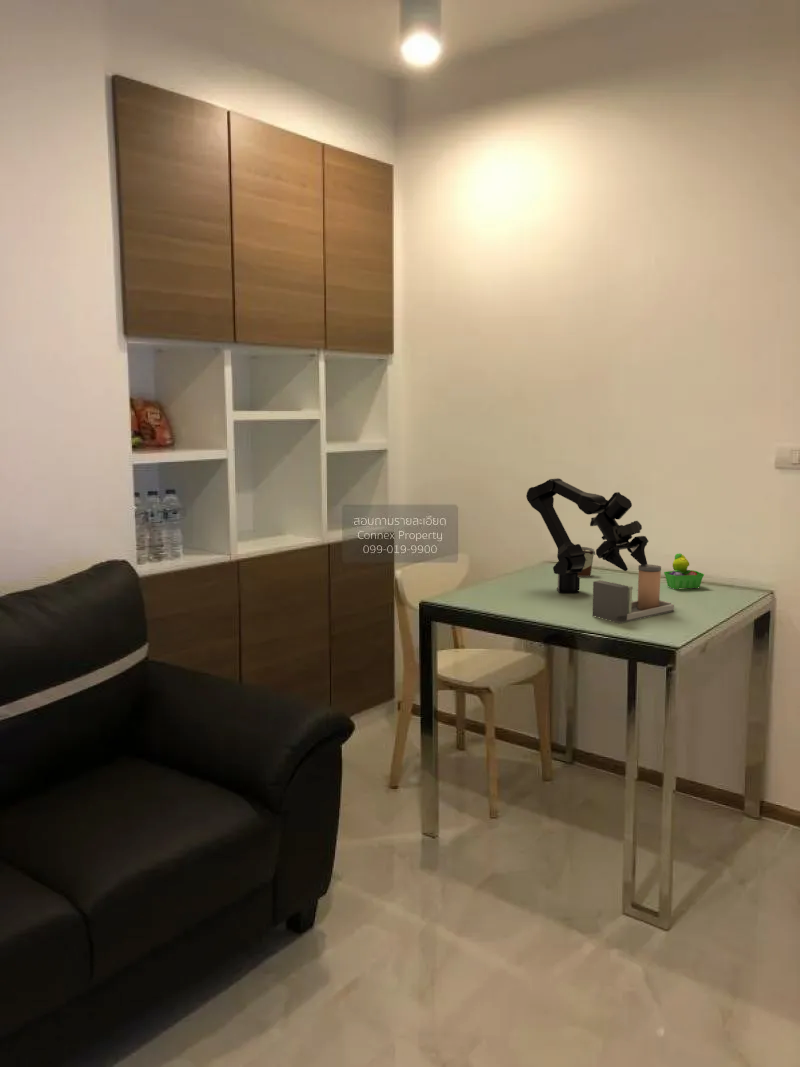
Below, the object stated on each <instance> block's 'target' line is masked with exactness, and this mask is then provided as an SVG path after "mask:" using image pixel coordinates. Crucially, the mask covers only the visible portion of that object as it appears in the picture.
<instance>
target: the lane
mask: <svg viewBox="0 0 800 1067" xmlns="http://www.w3.org/2000/svg"><path fill="white" fill-rule="evenodd" d="M592 583H593V585H592V586H593V587H592V613H591V614H592V615H591V616H592V617H593V616H596V617H595V618H597V617H600V618H599V619H601V618H603V619H602V620H605V619H607V620H606V621H609V620H611V621H610V622H613V621H614V623H616V622H618V624H622V622H624V623H627V621H628V622H632V621H631V620H633V621H636V619H637V620H641V619H645V618H644V617H646V618H650V617H654V615H655V616H659V615H663V613H664V614H668V613H671V612H674V610H675V604H672V602H669V601H665V600H661V599H660V601H659V607H656V608H651V609H647V610H639V609H638V608H637V602H638V599H636V600H632V607H631V613H628V614H627V602H628V586H629V585H627V586H625V584H622V585H620V584H621V583H617V584H615V583H616V582H613V583H612V582H611V581H605V580H601V579H600V580H596V581H595V580H594V581H593V582H592ZM649 616H650V617H649ZM640 618H641V619H640Z"/></svg>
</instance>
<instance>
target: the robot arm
mask: <svg viewBox="0 0 800 1067" xmlns="http://www.w3.org/2000/svg"><path fill="white" fill-rule="evenodd" d="M557 494H558V495H559V496H561V497H562V498H565V499H567V500H569V501H570V502H572V503H574V504H575V505H577V508H578V509H579V510H580V511H581V512H583V513H584V514H586V515H588V516H589V515H595V517H591V518H590V519H591V520H590V522H589V526H590V527H597V528H598V530H600V532H601V534H602V536H601V539H602V543H601V544H599V546H598V547H596V550H595V556H597V558H598V559H602V560H603V561H606V562H609V563H610V564H612V565H614V566H616V567H618V568H619V569H621V570H622V571H624V572H627V571H628V570H629V568H628V566H627V565H626V563H625V560H624V558H623V557H622V556H621V554H620V550H621V551H622V550H627V551H628V552H629V553H630V556H631V557H632V558H633V559H634V560H636V561H637V563H639V565H649V564H648V561H647V557H646V552H645V548H646V546H647V544H648V543H649V539H648V538H647V536H646V535H638V536H637V535H636V536H633V535H635V534H639V533H641V531H642V529H643V527H642V524H641V523H640V522H639V521H638V520H634V521H631V522H630V523H627V524H624V525H622V524H619V523H618V522H617V520H621V518H623V517H624V516H625V515H626V513H627V512H629V510H630V509H631V508H632V506H633V504H632V501H631V500H630V499H629V498H627V496H626V495H623V494H621V493H620V492H619V491H616V492H613V494H612V495H611V497H610V498H609V499H606V497H605V496H603V495H600V494H596V493H590V492H586V491H583V490H581V489H580V488H577V487H576V486H573V485H571V484H569V483H568V482H566V481H563V479H561V478H559V477H558V478H550V479H548V480H546V481H545V482H543V483H540V484H538V485H535V486H531V487H529V488H528V489H527V492H526V494H525V495H526V500H527V502H528V503H529V505H530V506H531V508H533V509H534V510H536V511H537V513H539V514H540V515H541V518H542V519H543V522H544V524H545V525H546V528H547V529H548V531H549V533H550V536H551V538H552V540H553V542H554V544H555V546H556V548H557V554H556V556H557V560H558V561H557V562H556V564H554V566H553V567H552V569H553V570H552V571H553V574H554V575H557V587H556V590H557V592H558V593H560V594H566V593H567V594H569V593H572V594H575V593H576V594H577V593H579V592H580V586H581V585H580V584H581V582H580V580H581V579H580V576H578V573H581V572H582V570H583V567H584V565H585V561H586V558H585V556H584V555H585V553H584V552H583V550H582V548H581V547H582V546H581V544H579V543H573V542H572V541H571V539H570V537H569V534H568V533H567V530H566V528H565V526H564V525H563V523H562V521H561V519H560V517H559V515H558V513H557V512H556V509H555V507H554V499H555V498H554V496H555V495H557ZM603 540H604V541H603Z"/></svg>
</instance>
